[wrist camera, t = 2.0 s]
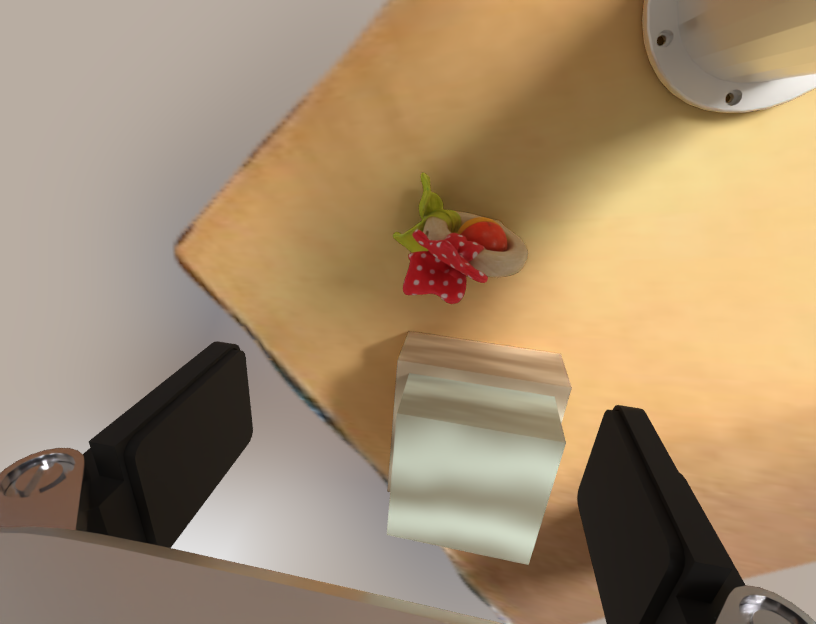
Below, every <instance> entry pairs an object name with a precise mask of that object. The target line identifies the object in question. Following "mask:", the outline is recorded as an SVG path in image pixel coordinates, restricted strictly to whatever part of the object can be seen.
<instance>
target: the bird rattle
mask: <svg viewBox="0 0 816 624" xmlns="http://www.w3.org/2000/svg"><path fill="white" fill-rule="evenodd" d="M421 182H422V185H423V195H422V198H421V201H420V203H419V213H420V216H421V218H422V221H421V222H419V223H418V224H417V225H416V226H414V227H413V228H411V229H410V230H408V231H407V232H405V233H404V234H401V233H399V232H395V233H394V234H393V238H394V239H395V240H396V241H398V242H399V243H400V244H402V245H403V246H405V247H406V248H407V249H408V250H409V251H411V252H412V253H410V254H409V255H408V257H409V260H410V265H409V268H408V272H407V275H406V277H405V280H404V283H403V292H404V293H405V294H406V295H423V294H435V295H438V296H439V297H441V299H442V300H444V301H445V302H447V303H449V304H455V303H458V302H459V301H460V300H461V299H462V297H463V296H464V294H465V290H466V282H467V280H466V276H468V277H470V278H471V279H473V280H475V281H478V282H481V283H485V282H486V281H487V280H488V277H506V276H511V275H514V274H516V273H518V272H519V271H520V270H521V269H522V268H523V266H524V264H525V262H526V260H527V257H528V250H527V247H526V245H525V244H524V242H523V241H522V240H521V239H520V238H519V237H518V236H517V235H516V234H515V233H514V232H512V231H511V230H509V229H508V228H506V227H505V226H504V225H503V223H502V222H501V221H499V220H492V219H489V218H485V217H482V216H478V215H475V214H470V213H465V212H458V211H453V210H445V209H443V202H442V200H441V198H440V197H439V195H438V194H436V193H433V192H431V185H430V178H429V176H428V175H427V174H425V173H424V172H422V174H421ZM487 276H488V277H487Z"/></svg>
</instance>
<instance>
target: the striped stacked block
mask: <svg viewBox="0 0 816 624" xmlns="http://www.w3.org/2000/svg"><path fill="white" fill-rule="evenodd" d="M571 388H572V387H571V384H570V381H569V378H568V375H567V371H566V368H565V365H564V362H563V359H562V356H561V354H558V353H552V352H545V351H538V350H532V349H525V348H518V347H512V346H505V345H498V344H492V343H485V342H478V341H471V340H465V339H458V338H451V337H445V336H438V335H431V334H425V333H418V332H411V331H408V334H407V337H406V339H405V342H404V345H403V347H402V350H401V352H400V355H399V358H398V361H397V374H396V387H395V400H394V413H393V426H392V439H391V452H390V464H389V477H388V490H387V491H388V492H390V502H389V515H388V527H387V535H391V536H395V537H400V538H404V539H409V540H414V541H418V542H423V543H428V544H432V545H437V546H442V547H447V548H451V549H456V550H461V551H465V552H470V553H475V554H479V555H484V556H489V557H494V558H498V559H503V560H508V561H512V562H517V563H522V564H526V565H529V562H530V558H531V555H532V552H533V549H534V545H535V542H536V539H537V536H538V532H539V529H540V526H541V522H542V519H543V516H544V513H545V509H546V506H547V503H548V500H549V496H550V493H551V490H552V487H553V483H554V480H555V477H556V474H557V470H558V467H559V464H560V460H561V457H562V454H563V451H564V447H565V444H566V441H565V437H564V433H563V429H562V425H561V423H562V419H563V416H564V412H565V409H566V406H567V402H568V399H569V395H570V392H571Z"/></svg>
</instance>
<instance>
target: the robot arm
mask: <svg viewBox="0 0 816 624" xmlns="http://www.w3.org/2000/svg"><path fill="white" fill-rule="evenodd" d="M642 26H643V37H644V45H645V48H646V51H647V55H648V58H649V62H650V64H651V66H652V68H653V69H654V71H655V73H656V75H657V77H658V78H659V80H660V81H661V82H662V83H663V84H664V85H665V87H666V88H667V89H668V90H669V91H670V92H671V93H672V94H673V95H675V96H676V97H678V98H679V99H681V100H683V101H684V102H686V103H687V104H689V105H692V106H695V107H698V108H701V109H703V110H706V111H714V112H722V113H742V112H750V111H756V110H763V109H768V108H771V107H774V106H777V105H780V104H783V103H786V102H789V101H792V100H794V99H796V98H798V97H800V96H802V95H804V94H806V93H808V92H810V91H812V90H814V89H815V88H816V0H644V6H643V16H642ZM660 36H661V37H663V39H664V42H663V44H662V45H661V46H659V45H658V44H657V38H658V37H660ZM727 94H729V95H730V100H729V101H728V102H727V103H726V102H725V99H726V96H727ZM252 433H253V427H252V416H251V406H250V396H249V386H248V377H247V367H246V357H245V353H244V352H243V351H240V348H239V346H238V345H236V344H229V343H224V342H213V343H212V344H211V345H209V346H208V347H207V348H206V349H204V350H203V351H202V352H200V353H199V354H198V355H197V356H195V357H194V358H193V359H192V360H190V361H189V362H188V363H187V364H185V365H184V366H183V367H182V368H180V369H179V370H178V371H177V372H175V373H174V374H173V375H171V376H170V377H169V378H168V379H166V380H165V381H164V382H163V383H161V384H160V385H159V386H158V387H156V388H155V389H154V390H153V391H151V392H150V393H149V394H148V395H146V396H145V397H144V398H143V399H141V400H140V401H139V402H138V403H136V404H135V405H134V406H133V407H131V408H130V409H129V410H127V411H126V412H125V413H124V414H122V415H121V416H120V417H119V418H117V419H116V420H115V421H114V422H112V423H111V424H110V425H109V426H107V427H106V428H105V429H104V430H102V431H101V432H100V433H99V434H97V435H96V436H95V437H94V438H92V439H91V440H90V441H89V444H90V447H91V448H90V449H89V450H87V451H86V452H85V453H84V454H81V453H80V452H79V451H78V450H74V449H71V448H55V449H49V450H44V451H40V452H37V453H35V454H31V455H29V456H27V457H25V458H22V459H20V460H18V461H16V462H15V463H13V464H12V465H10V466H9V467H7V468H6V469H4V470H3V471H2V472H1V473H0V624H503V623H499V622H494V621H490V620H486V619H482V618H477V617H472V616H468V615H464V614H460V613H456V612H452V611H447V610H443V609H438V608H434V607H430V606H426V605H421V604H417V603H413V602H408V601H404V600H400V599H395V598H391V597H386V596H382V595H377V594H373V593H369V592H364V591H360V590H356V589H351V588H347V587H343V586H338V585H334V584H329V583H325V582H320V581H316V580H312V579H307V578H302V577H298V576H294V575H289V574H285V573H281V572H276V571H272V570H267V569H263V568H258V567H253V566H249V565H244V564H240V563H235V562H231V561H226V560H222V559H217V558H213V557H208V556H203V555H199V554H195V553H190V552H185V551H181V550H176V549H171V547H172V545H173V544H174V543H175V541H176V540H177V538H178V537H179V536H180V534H181V533H182V532H183V530H184V529H185V528H186V527H187V525H188V523H190V521H191V520H192V519H193V517H194V516H195V515H196V513H197V512H198V510H199V509H200V508H201V506H202V505H203V504H204V502H205V501H206V500H207V498H208V497H209V496H210V494H211V493H212V492H213V490H214V489H215V488H216V486H217V485H218V484H219V482H220V481H221V480H222V478H223V477H224V476H225V474H226V473H227V472H228V470H229V469H230V468H231V466H232V465H233V463H234V462H235V461H236V459H237V458H238V457H239V456H240V454H241V453H242V451H243V450H244V449H245V448H246V446H247V445H248V443H249V442H250V440H251V437H252ZM577 500H578V507H579V512H580V516H581V520H582V524H583V528H584V532H585V536H586V540H587V544H588V549H589V553H590V557H591V561H592V565H593V569H594V573H595V577H596V582H597V586H598V590H599V594H600V598H601V602H602V606H603V610H604V614H605V619H606V622H607V624H816V622H815V621H814V620H813V619H812V618H810V617H809V615H808V614H806V613H805V612H804V611H802V610H801V609H799V608H798V607H797V606H796V605H794V604H793V603H792V602H790V601H788V600H786V599H784V598H783V597H781V596H779V595H778V594H775V593H774V592H771V591H768V590H765V589H763V588H760V587H754V586H747V585H745V583H744V582H743V580H742V578H741V576H740V575H739V573H738V571H737V569H736V568H735V566H734V564H733V562H732V560H731V559H730V557H729V555H728V553H727V552H726V550H725V548H724V546H723V545H722V543H721V541H720V539H719V537H718V536H717V534H716V532H715V530H714V529H713V527H712V525H711V523H710V522H709V520H708V518H707V516H706V514H705V513H704V511H703V509H702V507H701V506H700V504H699V502H698V500H697V499H696V497H695V495H694V493H693V491H692V490H691V488H690V486H689V484H688V483H687V481H686V479H685V478H684V477H683V475H682V474H681V473H679V472H678V470H677V468H676V466H675V465H674V463H673V461H672V459H671V457H670V456H669V454H668V452H667V450H666V448H665V447H664V445H663V443H662V441H661V440H660V438H659V436H658V434H657V432H656V431H655V429H654V427H653V425H652V423H651V422H650V420H649V418H648V416H647V414H646V413H645V411H644V410H643V409H639V408H633V407H627V406H621V405H616V406H615V407H614V408H613V410H606V411H605V413H604V416H603V419H602V422H601V425H600V428H599V431H598V433H597V436H596V439H595V442H594V445H593V448H592V451H591V454H590V457H589V460H588V463H587V466H586V469H585V472H584V475H583V478H582V481H581V483H580V486H579V490H578V497H577Z"/></svg>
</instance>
